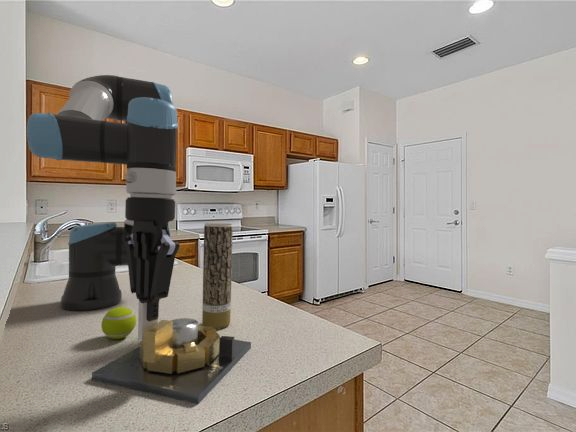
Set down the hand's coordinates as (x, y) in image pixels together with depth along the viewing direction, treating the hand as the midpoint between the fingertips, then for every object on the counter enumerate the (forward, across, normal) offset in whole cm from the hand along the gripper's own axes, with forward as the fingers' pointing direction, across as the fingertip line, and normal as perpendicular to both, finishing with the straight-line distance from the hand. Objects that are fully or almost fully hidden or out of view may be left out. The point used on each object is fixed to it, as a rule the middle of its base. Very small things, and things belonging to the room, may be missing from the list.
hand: (147, 337), depth 53 cm
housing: (+7, -1, +7) cm, 10 cm away
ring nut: (+5, 0, +6) cm, 8 cm away
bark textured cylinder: (+7, -10, +24) cm, 27 cm away
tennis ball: (+8, -20, +5) cm, 22 cm away
